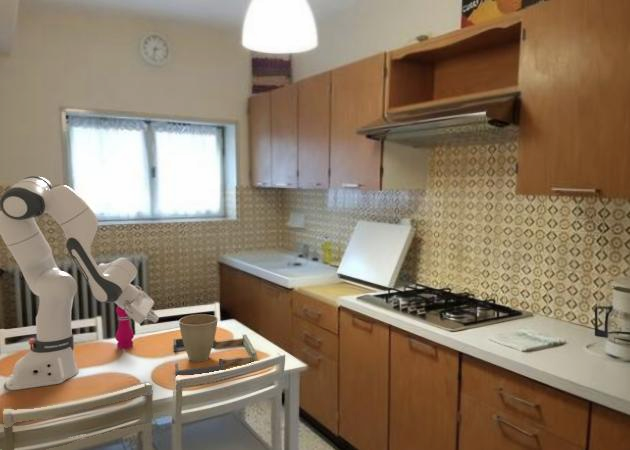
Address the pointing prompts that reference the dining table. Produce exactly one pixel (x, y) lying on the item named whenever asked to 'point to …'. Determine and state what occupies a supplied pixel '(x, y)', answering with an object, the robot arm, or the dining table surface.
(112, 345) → the dining table surface
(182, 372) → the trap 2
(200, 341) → the plant pot
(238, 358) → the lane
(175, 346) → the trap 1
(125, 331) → the pepper mill
